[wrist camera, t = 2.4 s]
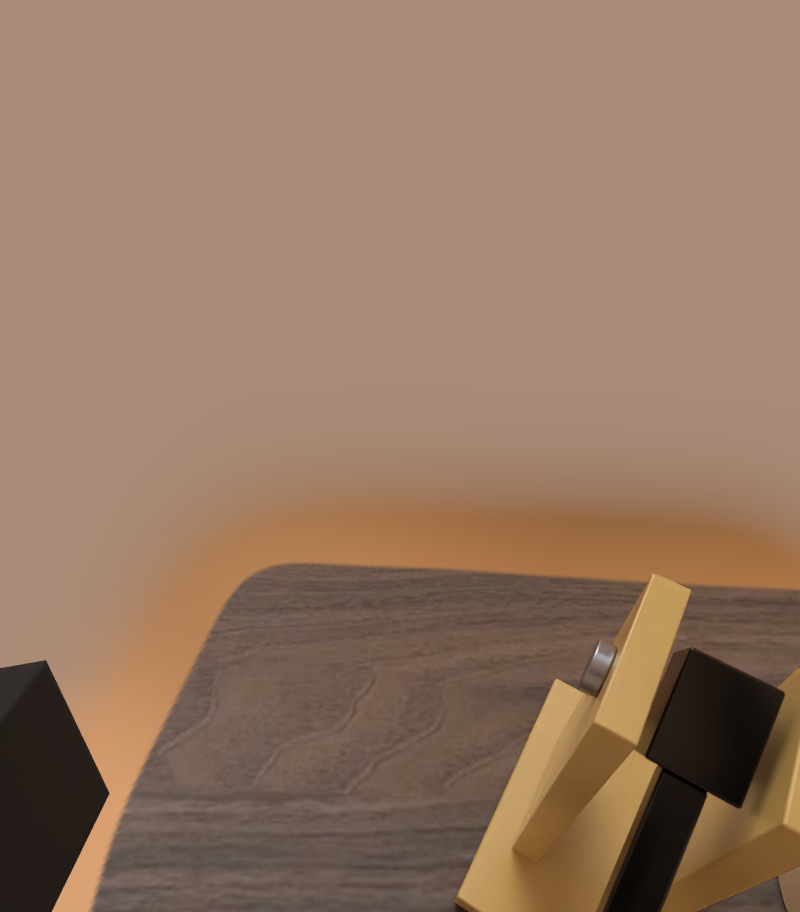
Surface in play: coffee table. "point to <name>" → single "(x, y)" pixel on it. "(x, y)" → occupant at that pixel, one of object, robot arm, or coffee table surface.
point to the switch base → (627, 788)
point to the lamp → (791, 889)
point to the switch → (689, 769)
